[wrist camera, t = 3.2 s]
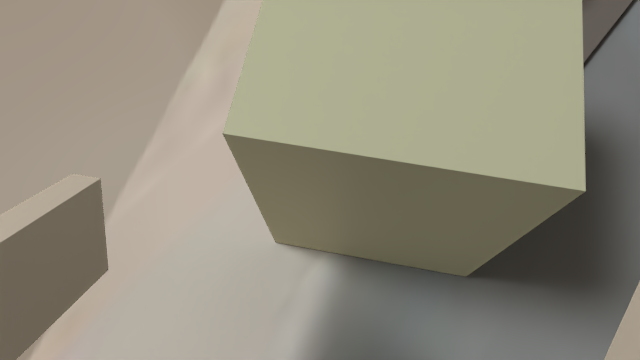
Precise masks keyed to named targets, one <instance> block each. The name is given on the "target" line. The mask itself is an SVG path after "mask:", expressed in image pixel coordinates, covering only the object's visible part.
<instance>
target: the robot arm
mask: <svg viewBox="0 0 640 360" xmlns="http://www.w3.org/2000/svg"><path fill="white" fill-rule="evenodd" d="M107 270H108V260H107V248H106V237H105V225H104V213H103V202H102V190H101V180H100V178H95V177H89V176H83V175H76V174H71V175H69V176H68V177H66V178H64V179H62V180H61V181H59V182H57V183H55V184H54V185H52V186H50V187H48V188H47V189H45V190H43V191H41V192H40V193H38V194H36V195H34V196H32V197H31V198H29V199H27V200H25V201H24V202H22V203H20V204H19V205H17V206H15V207H14V208H11V209H10V210H8V211H6V212H4V213H3V214H1V215H0V360H16V359H17V358H18V357H19V356H20V355H21V354H22V353H23V352H24V351H25V350H26V349H27V348H28V347H29V346H31V345H32V344H33V343H34V342H35V341H36V340H37V339H38V338H39V337H40V336H41V335H42V334H43V333H44V332H45V331H46V330H47V329H48V328H49V327H50V326H51V325H52V324H53V323H54V322H55V321H56V320H57V319H58V318H59V317H60V316H61V315H62V314H63V313H64V312H65V311H66V310H67V309H68V308H70V307H71V306H72V305H73V304H74V303H75V302H76V301H77V300H78V299H79V298H80V297H81V296H82V295H83V294H84V293H85V292H86V291H87V290H88V289H89V288H90V287H91V286H92V285H93V284H94V283H95V282H96V281H97V280H98V279H99V278H100V277H101V276H102V275H103V274H104V273H105V272H106V271H107ZM604 360H640V281H639V284H638V286H637V288H636V290H635V292H634V295H633V297H632V299H631V301H630V303H629V306H628V308H627V310H626V312H625V315H624V317H623V319H622V321H621V323H620V326H619V328H618V330H617V332H616V334H615V337H614V339H613V341H612V343H611V345H610V348H609V350H608V352H607V354H606V357H605V359H604Z"/></svg>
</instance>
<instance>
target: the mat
mask: <svg viewBox="0 0 640 360" xmlns="http://www.w3.org/2000/svg"><path fill="white" fill-rule="evenodd" d="M632 1H633V0H582V20H583V63H584V62H585V60H586V59H587V58H588V57H589V55H590V54H591V53H592V51H593V50H594V49H595V48H596V46H597V45H598V44H599V43H600V41H601V40H602V39H603V37H604V36H605V35H606V34H607V32H608V31H609V30H610V29H611V27H612V26H613V25H614V23H615V22H616V21H617V20H618V18H619V17H620V16H621V15H622V13H623V12H624V11H625V9H626V8H627V7H628V6H629V4H630V3H631V2H632Z"/></svg>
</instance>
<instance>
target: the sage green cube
mask: <svg viewBox="0 0 640 360" xmlns="http://www.w3.org/2000/svg"><path fill="white" fill-rule="evenodd" d="M223 135H224V137H225V139H226V141H227V144H228V146H229V148H230V150H231V152H232V154H233V156H234V158H235V160H236V162H237V164H238V166H239V168H240V170H241V172H242V174H243V176H244V179H245V181H246V183H247V185H248V187H249V189H250V191H251V193H252V195H253V197H254V199H255V201H256V203H257V205H258V207H259V209H260V211H261V214H262V216H263V218H264V220H265V222H266V224H267V226H268V228H269V230H270V232H271V234H272V236H273V238H274V240H275V242H277V243H282V244H288V245H293V246H299V247H304V248H310V249H315V250H321V251H326V252H332V253H337V254H343V255H348V256H354V257H359V258H365V259H370V260H376V261H381V262H387V263H392V264H398V265H403V266H409V267H414V268H420V269H425V270H431V271H436V272H442V273H448V274H453V275H459V276H464V277H466V276H468V275H469V274H470V273H472V272H473V271H475V270H476V269H477V268H479V267H480V266H482V265H483V264H484V263H486V262H487V261H489V260H490V259H491V258H493V257H494V256H496V255H497V254H498V253H500V252H501V251H503V250H504V249H505V248H507V247H508V246H510V245H511V244H512V243H514V242H515V241H517V240H518V239H519V238H521V237H522V236H524V235H525V234H526V233H528V232H529V231H531V230H532V229H533V228H535V227H536V226H538V225H539V224H541V223H542V222H543V221H545V220H546V219H548V218H549V217H550V216H552V215H553V214H555V213H556V212H557V211H559V210H560V209H562V208H563V207H564V206H566V205H567V204H569V203H570V202H571V201H573V200H574V199H576V198H577V197H578V196H580V195H581V194H583V193H584V192H585V191H586V178H585V125H584V73H583V20H582V0H263V1H262V5H261V8H260V11H259V15H258V18H257V21H256V25H255V28H254V31H253V34H252V38H251V41H250V44H249V48H248V51H247V54H246V58H245V61H244V64H243V68H242V71H241V74H240V78H239V81H238V84H237V87H236V91H235V94H234V97H233V101H232V104H231V107H230V111H229V114H228V117H227V121H226V124H225V127H224V131H223Z"/></svg>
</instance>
